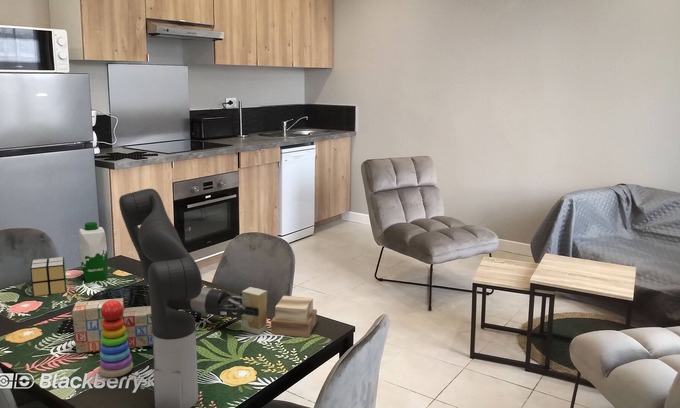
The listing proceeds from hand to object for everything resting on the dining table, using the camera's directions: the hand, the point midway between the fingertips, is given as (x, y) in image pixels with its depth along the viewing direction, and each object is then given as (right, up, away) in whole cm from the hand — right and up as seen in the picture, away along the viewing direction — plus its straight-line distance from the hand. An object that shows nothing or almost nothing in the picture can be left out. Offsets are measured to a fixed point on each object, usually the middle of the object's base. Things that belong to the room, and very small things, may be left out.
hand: (262, 308), depth 166 cm
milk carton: (-66, +3, +43) cm, 79 cm away
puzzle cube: (-77, +1, +31) cm, 83 cm away
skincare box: (-3, -7, +2) cm, 8 cm away
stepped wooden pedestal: (+9, -6, +4) cm, 12 cm away
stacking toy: (-33, -12, -22) cm, 42 cm away
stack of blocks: (-38, -9, -8) cm, 40 cm away
